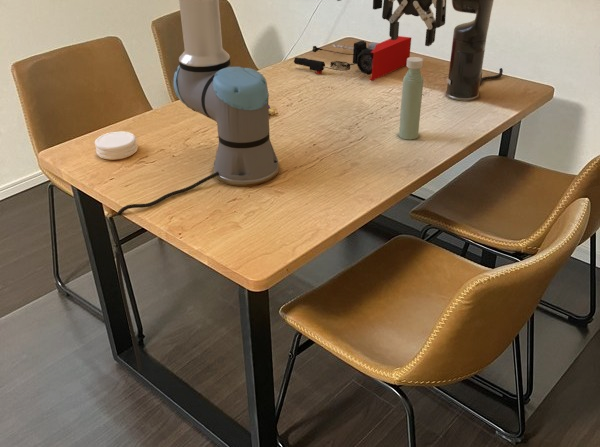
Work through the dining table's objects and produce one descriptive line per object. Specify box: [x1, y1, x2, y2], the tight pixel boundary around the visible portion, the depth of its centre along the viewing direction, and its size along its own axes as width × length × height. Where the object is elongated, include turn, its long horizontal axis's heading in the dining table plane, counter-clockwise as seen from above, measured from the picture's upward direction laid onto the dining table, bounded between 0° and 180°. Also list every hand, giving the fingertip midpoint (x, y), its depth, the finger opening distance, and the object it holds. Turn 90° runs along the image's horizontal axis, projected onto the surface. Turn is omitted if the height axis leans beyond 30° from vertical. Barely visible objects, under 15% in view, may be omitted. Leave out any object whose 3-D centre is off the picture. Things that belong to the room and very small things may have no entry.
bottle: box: [398, 68, 424, 140], centre depth 156 cm, size 5×5×20 cm
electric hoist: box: [293, 35, 412, 82], centre depth 207 cm, size 10×27×30 cm
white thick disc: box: [94, 130, 139, 161], centre depth 154 cm, size 10×10×4 cm
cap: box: [405, 56, 424, 69], centre depth 151 cm, size 4×4×2 cm
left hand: (358, 4), depth 166 cm, fingers open, 13 cm apart
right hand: (411, 42), depth 139 cm, fingers open, 8 cm apart
